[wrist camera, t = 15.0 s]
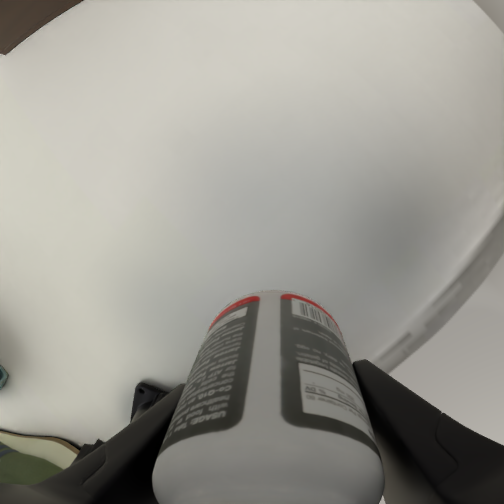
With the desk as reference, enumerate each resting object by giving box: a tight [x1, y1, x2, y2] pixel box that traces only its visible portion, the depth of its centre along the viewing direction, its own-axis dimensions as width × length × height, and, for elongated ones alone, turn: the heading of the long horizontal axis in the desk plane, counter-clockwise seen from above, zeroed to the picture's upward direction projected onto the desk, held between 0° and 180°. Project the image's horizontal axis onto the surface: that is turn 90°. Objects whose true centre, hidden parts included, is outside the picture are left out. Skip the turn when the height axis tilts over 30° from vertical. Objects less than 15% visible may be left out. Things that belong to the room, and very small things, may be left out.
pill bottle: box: [152, 290, 385, 504], centre depth 6 cm, size 5×5×8 cm
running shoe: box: [0, 431, 80, 485], centre depth 20 cm, size 13×36×16 cm, turn 122°
